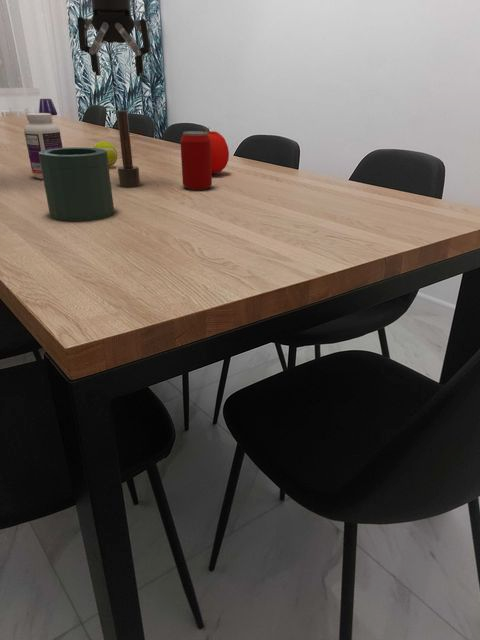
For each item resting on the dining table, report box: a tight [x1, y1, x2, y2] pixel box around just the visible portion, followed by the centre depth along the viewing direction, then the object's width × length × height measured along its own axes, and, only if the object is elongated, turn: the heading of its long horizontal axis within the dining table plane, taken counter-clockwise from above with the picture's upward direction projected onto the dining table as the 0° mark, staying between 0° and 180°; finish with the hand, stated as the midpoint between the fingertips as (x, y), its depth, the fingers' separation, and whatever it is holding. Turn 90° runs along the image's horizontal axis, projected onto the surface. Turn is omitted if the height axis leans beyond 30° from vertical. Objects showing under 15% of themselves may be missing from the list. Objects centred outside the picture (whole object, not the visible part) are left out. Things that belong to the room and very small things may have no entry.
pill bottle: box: [23, 112, 64, 180], centre depth 122 cm, size 8×8×14 cm
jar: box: [38, 146, 115, 222], centre depth 92 cm, size 11×11×11 cm
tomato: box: [201, 127, 230, 174], centre depth 131 cm, size 12×12×11 cm
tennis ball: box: [93, 141, 118, 168], centre depth 138 cm, size 7×7×7 cm
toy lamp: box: [38, 98, 58, 123], centre depth 140 cm, size 5×5×17 cm
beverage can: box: [179, 130, 213, 191], centre depth 115 cm, size 7×7×12 cm
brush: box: [116, 109, 141, 188], centre depth 115 cm, size 5×5×16 cm
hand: (118, 76), depth 108 cm, fingers open, 8 cm apart
